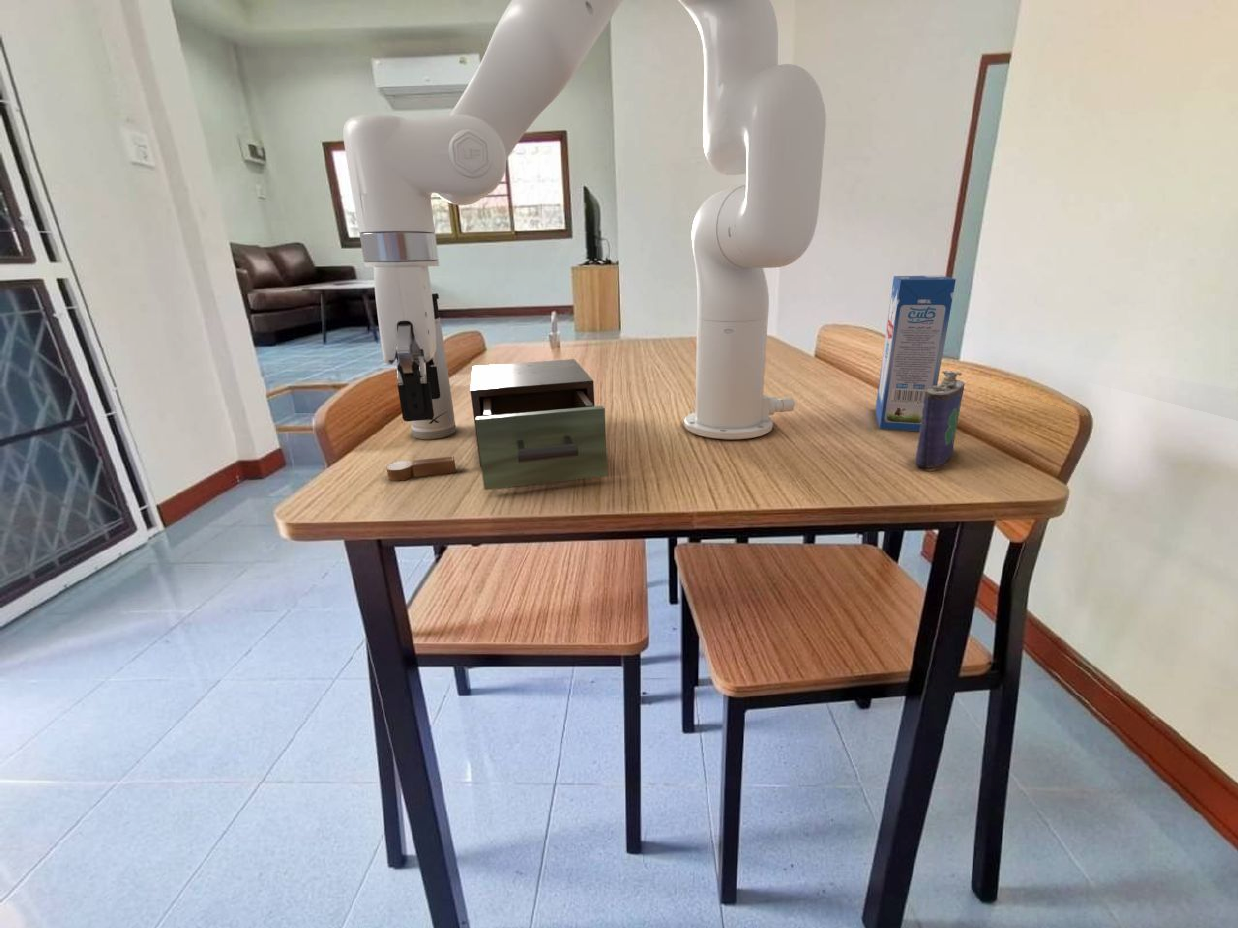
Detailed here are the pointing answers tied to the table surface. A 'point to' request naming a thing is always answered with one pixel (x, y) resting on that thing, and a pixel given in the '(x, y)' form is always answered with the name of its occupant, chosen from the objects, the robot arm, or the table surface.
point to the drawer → (541, 438)
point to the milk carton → (912, 348)
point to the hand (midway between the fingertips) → (423, 408)
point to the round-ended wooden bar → (420, 468)
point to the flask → (939, 423)
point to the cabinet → (526, 381)
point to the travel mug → (443, 406)
